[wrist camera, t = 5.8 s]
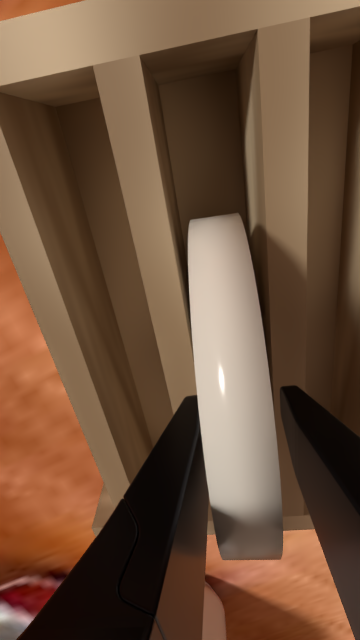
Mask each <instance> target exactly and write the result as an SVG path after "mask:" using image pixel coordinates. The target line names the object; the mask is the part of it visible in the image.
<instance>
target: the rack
mask: <svg viewBox="0 0 360 640" xmlns="http://www.w3.org/2000/svg"><path fill="white" fill-rule="evenodd" d="M234 213H239V215H240V217H241V219H242V222H243V225H244V229H245V232H246V236H247V241H248V245H249V250H250V255H251V260H252V265H253V270H254V275H255V281H256V287H257V293H258V299H259V305H260V312H261V318H262V325H263V331H264V339H265V346H266V353H267V360H268V368H269V376H270V384H271V392H272V401H273V409H274V419H275V428H276V438H277V448H278V459H279V470H280V483H281V498H282V517H283V531H288V530H307V529H315V528H314V525H313V522H312V520H311V517H310V514H309V512H308V509H307V506H306V503H305V501H304V498H303V495H302V492H301V490H300V487H299V484H298V481H297V478H296V475H295V472H294V468H293V465H292V460H291V456H290V452H289V448H288V444H287V439H286V435H285V431H284V427H283V423H282V418H281V412H280V388H281V387H282V386H290V385H296V386H298V387H299V388H300V389H302V390H303V391H304V392H305V393H307V394H308V395H309V396H310V397H312V398H313V399H314V400H315V401H316V402H318V403H319V404H320V405H321V406H323V407H324V408H325V409H326V410H327V411H329V412H330V413H331V414H332V415H334V416H335V417H336V418H337V419H338V420H340V421H341V422H342V423H343V424H345V425H346V426H347V427H348V428H349V429H351V430H352V431H353V432H354V433H356V434H357V435H358V436H359V437H360V0H85V1H81V2H77V3H73V4H69V5H65V6H61V7H57V8H53V9H49V10H45V11H41V12H36V13H32V14H28V15H24V16H20V17H16V18H12V19H8V20H4V21H0V233H1V235H2V237H3V240H4V242H5V245H6V247H7V249H8V252H9V254H10V257H11V259H12V262H13V264H14V266H15V269H16V271H17V274H18V276H19V278H20V281H21V283H22V286H23V288H24V291H25V293H26V295H27V298H28V300H29V303H30V305H31V307H32V310H33V312H34V315H35V317H36V319H37V322H38V324H39V327H40V329H41V332H42V334H43V336H44V339H45V341H46V344H47V346H48V348H49V351H50V353H51V356H52V358H53V361H54V363H55V365H56V368H57V370H58V373H59V375H60V377H61V380H62V382H63V385H64V387H65V390H66V392H67V394H68V397H69V399H70V402H71V404H72V406H73V409H74V411H75V414H76V416H77V419H78V421H79V423H80V426H81V428H82V431H83V433H84V435H85V438H86V440H87V443H88V445H89V448H90V450H91V452H92V455H93V457H94V460H95V462H96V464H97V467H98V469H99V472H100V474H101V477H102V479H103V481H104V484H103V488H102V492H101V495H100V499H99V503H98V506H97V510H96V514H95V518H94V521H93V525H92V530H93V532H94V534H95V536H96V537H97V535H98V534H99V532H100V531H101V529H102V528H103V526H104V525H105V523H106V522H107V520H108V519H109V517H110V516H111V514H112V513H113V511H114V510H115V508H116V506H117V505H118V503H119V501H120V500H121V499H122V498H123V495H124V494H125V492H126V491H127V489H128V487H129V486H130V484H131V483H132V481H133V479H134V478H135V476H136V475H137V473H138V471H139V470H140V468H141V467H142V465H143V463H144V462H145V460H146V459H147V457H148V455H149V454H150V452H151V451H152V449H153V447H154V446H155V444H156V443H157V441H158V439H159V438H160V436H161V435H162V433H163V431H164V430H165V428H166V427H167V425H168V423H169V422H170V420H171V419H172V417H173V415H174V414H175V412H176V411H177V409H178V407H179V406H180V404H181V403H182V401H183V399H184V398H185V397H186V396H190V395H197V388H196V377H195V366H194V354H193V342H192V328H191V313H190V296H189V274H188V230H189V223H190V220H193V219H200V218H207V217H213V216H220V215H227V214H234ZM123 499H124V498H123ZM213 534H215V529H214V523H213V517H212V511H211V505H210V498H209V504H208V525H207V535H213Z"/></svg>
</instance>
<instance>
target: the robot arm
mask: <svg viewBox="0 0 360 640" xmlns="http://www.w3.org/2000/svg"><path fill="white" fill-rule="evenodd" d="M280 412H281V418H282V423H283V427H284V431H285V435H286V439H287V444H288V448H289V452H290V456H291V460H292V465H293V468H294V472H295V475H296V478H297V481H298V484H299V487H300V490H301V492H302V495H303V498H304V501H305V503H306V506H307V509H308V512H309V514H310V517H311V520H312V522H313V525H314V528H315V531H316V533H317V536H318V539H319V542H320V544H321V547H322V550H323V552H324V555H325V558H326V561H327V563H328V566H329V569H330V572H331V574H332V577H333V580H334V583H335V585H336V588H337V591H338V593H339V596H340V599H341V602H342V604H343V607H344V610H345V613H346V615H347V618H348V621H349V623H350V626H351V629H352V632H353V634H354V637H355V640H360V437H359V436H358V435H357V434H356V433H354V432H353V431H352V430H351V429H349V428H348V427H347V426H346V425H345V424H343V423H342V422H341V421H340V420H338V419H337V418H336V417H335V416H334V415H332V414H331V413H330V412H329V411H327V410H326V409H325V408H324V407H323V406H321V405H320V404H319V403H318V402H316V401H315V400H314V399H313V398H312V397H310V396H309V395H308V394H307V393H305V392H304V391H303V390H302V389H300V388H299V387H298V386H296V385H290V386H282V387H281V388H280ZM123 498H124V499H123ZM123 498H122V499H121V500H120V501H119V503H118V505H117V506H116V508H115V510H114V511H113V513H112V514H111V516H110V517H109V519H108V520H107V522H106V523H105V525H104V526H103V528H102V529H101V531H100V532H99V534H98V535H97V537H96V538H95V539H94V541H93V542H92V543H91V545H90V546H89V548H88V549H87V550H86V552H85V553H84V554H83V556H82V557H81V558H80V560H79V561H78V562H77V564H76V565H75V566H74V568H73V569H72V570H71V571H70V573H69V574H68V575H67V577H66V578H65V579H64V581H63V582H62V583H61V584H60V586H59V587H58V588H57V590H56V591H55V592H54V594H53V595H52V596H51V597H50V599H49V600H48V601H47V603H46V604H45V605H44V607H43V608H42V609H41V610H40V612H39V613H38V614H37V616H36V617H35V618H34V620H33V621H32V622H31V623H30V624H29V626H28V627H27V628H26V629H25V630H24V632H23V633H22V634H21V635H20V636H19V637H18V638H17V639H16V640H202V630H203V609H204V588H205V567H206V546H207V525H208V504H209V491H208V484H207V477H206V469H205V461H204V453H203V445H202V436H201V427H200V418H199V409H198V398H197V395H190V396H186V397H185V398H184V399H183V401H182V403H181V404H180V406H179V407H178V409H177V411H176V412H175V414H174V415H173V417H172V419H171V420H170V422H169V423H168V425H167V427H166V428H165V430H164V431H163V433H162V435H161V436H160V438H159V439H158V441H157V443H156V444H155V446H154V447H153V449H152V451H151V452H150V454H149V455H148V457H147V459H146V460H145V462H144V463H143V465H142V467H141V468H140V470H139V471H138V473H137V475H136V476H135V478H134V479H133V481H132V483H131V484H130V486H129V487H128V489H127V491H126V492H125V494H124V495H123Z"/></svg>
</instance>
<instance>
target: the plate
mask: <svg viewBox="0 0 360 640" xmlns="http://www.w3.org/2000/svg"><path fill="white" fill-rule="evenodd" d="M188 274H189V296H190V313H191V328H192V342H193V354H194V366H195V377H196V388H197V398H198V409H199V418H200V427H201V436H202V445H203V453H204V461H205V469H206V477H207V484H208V491H209V498H210V505H211V511H212V517H213V523H214V529H215V534H216V539H217V544H218V548H219V551H220V555H221V557H222V559H223V560H280V559H281V557H282V551H283V517H282V498H281V483H280V470H279V459H278V448H277V438H276V428H275V419H274V409H273V401H272V392H271V384H270V376H269V368H268V360H267V353H266V346H265V339H264V331H263V325H262V318H261V312H260V305H259V299H258V293H257V287H256V281H255V275H254V270H253V265H252V260H251V255H250V250H249V245H248V241H247V236H246V232H245V229H244V225H243V222H242V219H241V217H240V215H239V213H234V214H227V215H220V216H213V217H207V218H200V219H193V220H190V223H189V230H188Z"/></svg>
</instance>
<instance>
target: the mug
mask: <svg viewBox="0 0 360 640" xmlns="http://www.w3.org/2000/svg"><path fill="white" fill-rule="evenodd" d="M202 640H227V635H226V619H225V611H224V607H223V604H222V602H221V600H220V598H219V597H218V595H217V594H216V593H215V592H214V590H213V589H212V588H211V586H210V585H209V584H208V583H207V582H206V581H205V588H204V609H203V630H202Z"/></svg>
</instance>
